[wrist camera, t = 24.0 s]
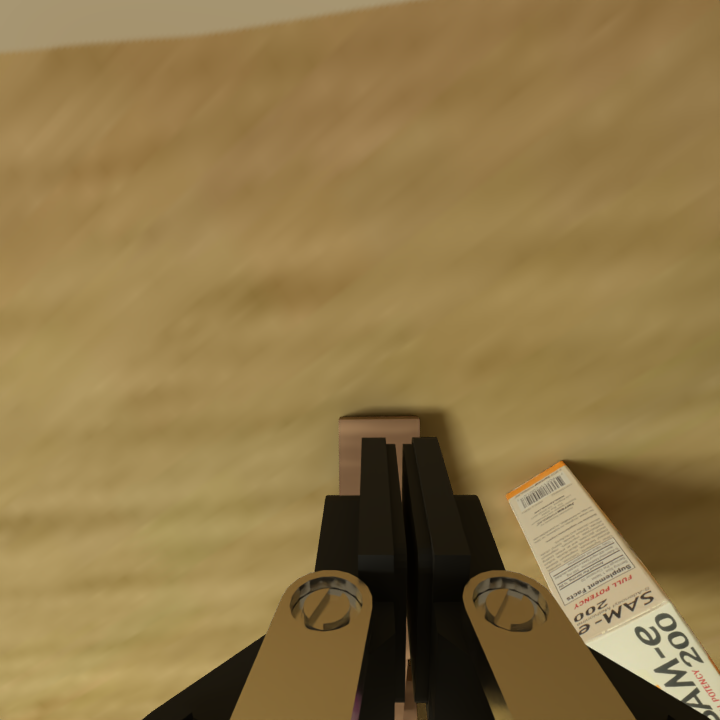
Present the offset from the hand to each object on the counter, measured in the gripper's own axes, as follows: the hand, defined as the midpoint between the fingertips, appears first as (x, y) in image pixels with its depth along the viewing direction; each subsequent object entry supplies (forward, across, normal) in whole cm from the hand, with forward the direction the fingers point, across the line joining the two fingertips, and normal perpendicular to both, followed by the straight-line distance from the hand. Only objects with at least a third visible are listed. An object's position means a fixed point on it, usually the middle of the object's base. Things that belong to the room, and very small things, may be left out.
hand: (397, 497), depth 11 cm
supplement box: (+21, -13, +15) cm, 29 cm away
